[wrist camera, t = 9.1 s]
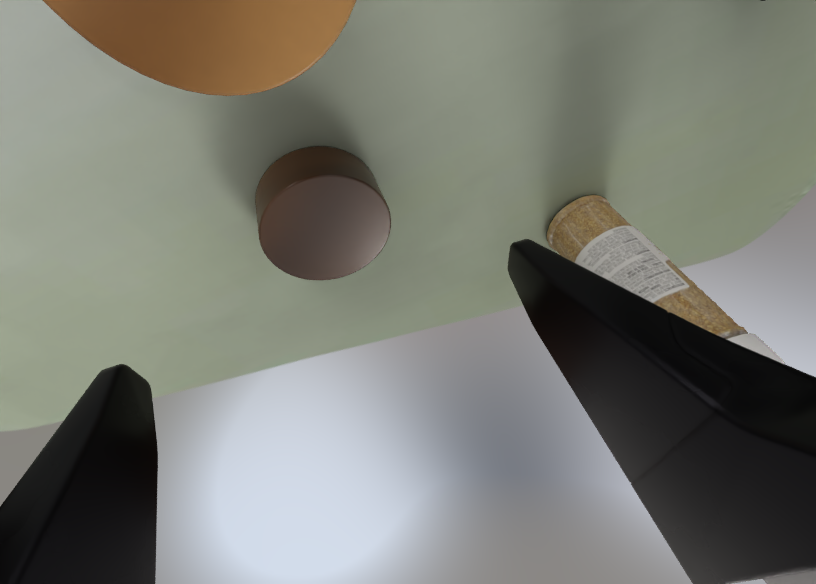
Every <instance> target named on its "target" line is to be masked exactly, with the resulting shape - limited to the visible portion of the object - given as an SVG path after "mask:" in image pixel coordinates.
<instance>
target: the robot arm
mask: <svg viewBox="0 0 816 584" xmlns="http://www.w3.org/2000/svg"><path fill="white" fill-rule="evenodd" d="M761 1H765V0H761ZM508 272H509V275H510V278H511V280H512V282H513V284H514V286H515V288H516V290H517V293H518V295H519V297H520V299H521V301H522V303H523V305H524V308H525V310H526V312H527V314H528V316H529V318H530V320H531V322H532V324H533V326H534V328H535V329H536V331H537V333H538V335H539V336H540V338H541V339H542V341H543V343H544V344H545V346H546V347H547V349H548V351H549V352H550V354H551V356H552V357H553V359H554V360H555V362H556V364H557V365H558V367H559V368H560V370H561V372H562V373H563V375H564V377H565V378H566V380H567V382H568V383H569V385H570V386H571V388H572V390H573V391H574V393H575V394H576V396H577V397H578V399H579V401H580V403H581V404H582V406H583V407H584V409H585V411H586V412H587V414H588V415H589V417H590V419H591V420H592V422H593V423H594V425H595V427H596V428H597V430H598V431H599V433H600V435H601V436H602V438H603V440H604V441H605V443H606V444H607V446H608V448H609V449H610V450H611V452H612V454H613V456H614V457H615V459H616V461H617V462H618V464H619V465H620V467H621V468H622V470H623V472H624V473H625V475H626V476H627V478H628V480H629V481H630V482H631V485H632V487H633V488H634V490H635V491H636V493H637V495H638V496H639V498H640V499H641V501H642V503H643V504H644V506H645V508H646V509H647V511H648V512H649V514H650V515H651V517H652V519H653V521H654V522H655V524H656V525H657V527H658V529H659V530H660V532H661V533H662V535H663V537H664V538H665V540H666V541H667V543H668V545H669V546H670V548H671V549H672V551H673V553H674V554H675V556H676V558H677V559H678V561H679V562H680V564H681V566H682V567H683V569H684V570H685V572H686V574H687V575H688V577H689V578H690V580H691V581H692V583H693V584H731V583H737V582H744V581H750V580H757V579H764V581H765V582H766V583H767V584H816V377H814V376H811V375H808V374H806V373H803V372H801V371H799V370H796V369H794V368H792V367H790V366H787V365H785V364H783V363H780V362H778V361H776V360H773V359H771V358H769V357H766V356H764V355H762V354H759V353H757V352H754V351H752V350H750V349H747V348H745V347H743V346H740V345H738V344H736V343H734V342H731V341H729V340H727V339H725V338H723V337H720V336H718V335H716V334H714V333H711V332H709V331H707V330H705V329H703V328H701V327H699V326H697V325H695V324H693V323H691V322H689V321H687V320H685V319H683V318H681V317H679V316H677V315H675V314H673V313H671V312H667V310H665V309H663V308H662V307H660V306H658V305H656V304H654V303H652V302H650V301H648V300H646V299H644V298H642V297H640V296H638V295H636V294H634V293H632V292H630V291H629V290H627V289H625V288H623V287H621V286H619V285H617V284H615V283H613V282H611V281H609V280H607V279H605V278H603V277H601V276H599V275H598V274H596V273H594V272H592V271H590V270H588V269H586V268H584V267H582V266H580V265H578V264H576V263H574V262H572V261H570V260H568V259H566V258H565V257H563V256H561V255H559V254H557V253H555V252H553V251H551V250H549V249H547V248H545V247H543V246H541V245H539V244H537V243H535V242H534V241H532V240H529V239H524V240H521V241H518V242H514V243H512V245H511V246H510V252H509V260H508ZM157 471H158V452H157V439H156V431H155V420H154V412H153V402H152V393H151V388H150V385H149V383H148V382H147V381H146V380H145V379H144V378H143V377H141V376H140V375H139V374H138V373H136V372H135V371H134V370H132V369H131V368H130V367H129V366H127V365H124V364H119V365H116V366H113V367H110V368H106V369H104V370H102V371H101V372H100V373H99V374H98V375H97V377H96V378H95V379H94V381H93V382H92V383H91V385H90V386H89V387H88V389H87V390H86V391H85V393H84V394H83V396H82V397H81V398H80V400H79V401H78V402H77V404H76V405H75V406H74V408H73V409H72V410H71V412H70V413H69V414H68V416H67V417H66V419H65V420H64V421H63V423H62V424H61V425H60V427H59V428H58V429H57V431H56V432H55V434H54V435H53V436H52V437H51V439H50V440H49V442H48V443H47V444H46V446H45V447H44V448H43V450H42V451H41V452H40V454H39V455H38V456H37V458H36V459H35V461H34V462H33V463H32V465H31V466H30V467H29V469H28V470H27V471H26V473H25V474H24V476H23V477H22V478H21V479H20V481H19V482H18V483H17V485H16V486H15V488H14V489H13V490H12V492H11V493H10V494H9V496H8V497H7V498H6V500H5V501H4V502H3V504H2V505H1V506H0V584H155V570H156V568H155V567H156V519H157V516H156V515H157Z"/></svg>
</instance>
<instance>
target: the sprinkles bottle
mask: <svg viewBox="0 0 816 584" xmlns="http://www.w3.org/2000/svg"><path fill="white" fill-rule="evenodd" d="M547 241H548V243H549V245H550V247H551V248H553V249H554V250H555V251H557V252H558V253H559V254H560V255H561V256H563V257H565V258H566V259H568V260H570V261H572V262H574V263H576V264H578V265H580V266H582V267H584V268H586V269H588V270H590V271H592V272H594V273H596V274H598V275H599V276H601V277H603V278H605V279H607V280H609V281H611V282H613V283H615V284H617V285H619V286H621V287H623V288H625V289H627V290H629V291H630V292H632V293H634V294H636V295H638V296H640V297H642V298H644V299H646V300H648V301H650V302H652V303H654V304H656V305H658V306H660V307H662V308H663V309H665V310H667V312H671V313H673V314H675V315H677V316H679V317H681V318H683V319H685V320H687V321H689V322H691V323H693V324H695V325H697V326H699V327H701V328H703V329H705V330H707V331H709V332H711V333H714V334H716V335H718V336H720V337H723V338H725V339H727V340H729V341H731V342H734V343H736V344H738V345H740V346H743V347H745V348H747V349H750V350H752V351H754V352H757V353H759V354H762V355H764V356H766V357H769V358H771V359H773V360H776V361H778V362H780V363H783V364H785V362H784V361H783V360H782V359H781V358H780V357H779V356H778V355H777V354H776V353H775V352H774V351H773V350H772V349H771V348H770V347H768V346H767V345H766V344H765V343H764V342H763V341H762V340H761V339H759V337H757V336H756V335H755V334H748V332H747V331H746V330H745V329H744V327H740V326H738V325H737V324H736V323H735V322H734V321H733V319H732V318H730V317H729V316H727V314H726V313H725V312H724V311H723V310H722V309H721V308H720V307H719V306H718V305H717V304H716V303H715V302H714V301H712V300H711V299H710V298H709V297H708V296H706V294H705V293H704V292H703V291H702V290H700V289H699V288H698V287H697V286H696V285H695V283H694V282H693V281H691V280H690V279H689V278H688V277H687V276H686V275H685V274H683V273H682V271H680V270H679V269H678V268H677V267H676V266H675V265H674V264H673V263H672V262H671V260H670V259H669V258H668V257H667V256H666V255H665V254H664V253H663V252H662V251H661V250H660V249H658V248H657V247H656V246H655V245H654V244H653V243H652V242H651V241H650V240H649V239H648V238H647V237H645V236H644V235H643V234H642V233H641V232H640V231H639V230H638V229H636V228H635V227H633V226H631V225H630V224H629V223H628V222H627V221H626V220H625V219H624V218H623V217H622V216H621V215H620V214H619V213H617V212H616V211H615V210H614V209H613V208H612V207H611V206H610V203H609V202H608V201H607V200H606V199H605V198H603V197H601V196H598V195H590V196H585V197H581V198H579V199H577V200H575V201H573V202H572V203H570V204H568V205H567V206H565V207H564V208H563V209H562V210H561V211H560V212H559V213H557V215H556V216H555V217H554V219H553V220H552V222H551V224H550V225H549V229H548V231H547Z"/></svg>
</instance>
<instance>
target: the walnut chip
mask: <svg viewBox="0 0 816 584" xmlns="http://www.w3.org/2000/svg"><path fill="white" fill-rule="evenodd" d="M255 203H256V213H257V223H258V233H259V240H260V244H261V247H262V249H263V251H264V253H265V254H266V256H267V257H268V259H269V260H270V261H271V262H272V263H273V264H274V265H275V266H277V267H278V268H279V269H281V270H282V271H284V272H286V273H288V274H290V275H292V276H295V277H298V278H303V279H308V280H330V279H336V278H340V277H344V276H347V275H349V274H352V273H354V272H356V271H358V270H360V269H361V268H363V267H365V266H366V265H367V264H369V263H370V262H371V261H372V260H373V259H374V258H376V256H377V255H378V254H379V253H380V252H381V250H382V249H383V247H384V246H385V244H386V242H387V239H388V236H389V233H390V228H391V217H390V211H389V208H388V205H387V203H386V201H385V199H384V197H383V195H382V193H381V191H380V188H379V186H378V184H377V182H376V180H375V178H374V176H373V174H372V172H371V171H370V169H369V168H368V167H367V166H366V165H365V164H364V163H363V162H362V161H361V160H360V159H359V158H357V157H356V156H354V155H352V154H350V153H348V152H346V151H344V150H340V149H337V148H332V147H324V146H315V147H307V148H302V149H298V150H296V151H293V152H290V153H288V154H286V155H284V156H283V157H281V158H280V159H278V160H277V161H276V162H275V163H273V164H272V165H271V166H270V167H269V168H268V170H267V171H266V172H265V173H264V175H263V176H262V178H261V180H260V182H259V185H258V187H257V191H256V199H255Z"/></svg>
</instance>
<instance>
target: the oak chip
mask: <svg viewBox="0 0 816 584" xmlns="http://www.w3.org/2000/svg"><path fill="white" fill-rule="evenodd" d="M43 1H44V2H45V3H46V4H47V5H48V6H49V7H50V8H51V9H52V10H53V11H54V12H55V13H56V14H57V15H58V16H60V17H61V18H62V19H63V20H64V21H65V22H66V23H67V24H68V25H69V26H70V27H72V28H73V29H74V30H75V31H77V32H78V33H79V34H80V35H82V36H83V37H84V38H85V39H87V40H88V41H89V42H90V43H92V44H93V45H94V46H96V47H97V48H99V49H100V50H102V51H103V52H105V53H106V54H108V55H109V56H111V57H112V58H114V59H115V60H117V61H118V62H120V63H122V64H124V65H126V66H128V67H129V68H131V69H133V70H135V71H137V72H139V73H140V74H143V75H145V76H147V77H150V78H152V79H154V80H157V81H159V82H161V83H164V84H167V85H170V86H173V87H177V88H180V89H183V90H187V91H192V92H197V93H203V94H209V95H223V96H232V95H247V94H252V93H258V92H263V91H266V90H269V89H272V88H275V87H278V86H281V85H283V84H285V83H287V82H289V81H291V80H293V79H295V78H297V77H298V76H300V75H301V74H302V73H304V72H305V71H307V70H308V69H309V68H311V67H312V66H313V65H314V64H315V63H316V62H317V61H318V60H319V59H320V58H321V57H323V56H324V55H325V53H326V52H327V51H328V50H329V48H330V47H331V46H332V45H333V43H334V42H335V41H336V40H337V38H338V36H339V35H340V33H341V31H342V30H343V28H344V26H345V25H346V23H347V21H348V19H349V16H350V14H351V12H352V10H353V7H354V5H355V3H356V0H43Z"/></svg>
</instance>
